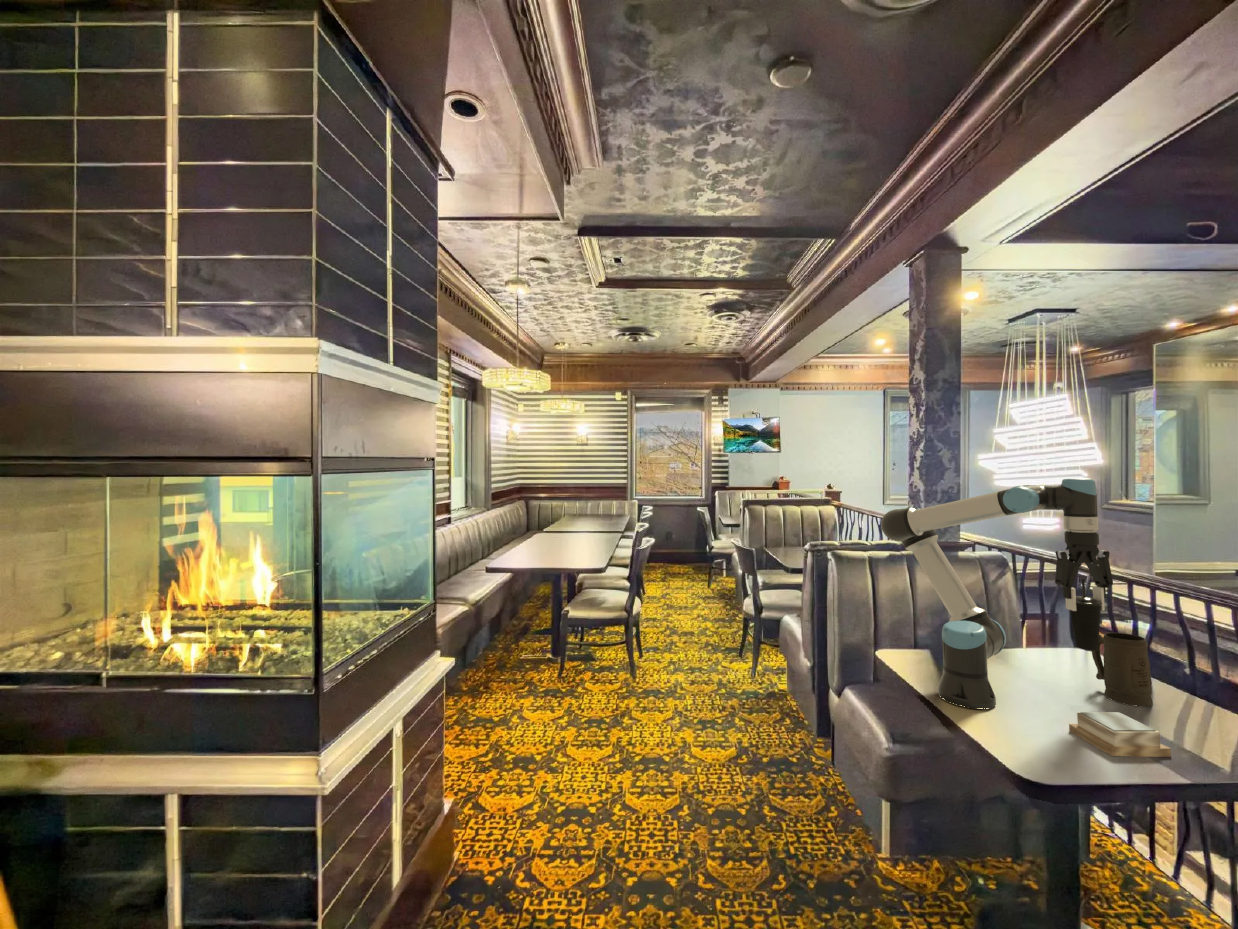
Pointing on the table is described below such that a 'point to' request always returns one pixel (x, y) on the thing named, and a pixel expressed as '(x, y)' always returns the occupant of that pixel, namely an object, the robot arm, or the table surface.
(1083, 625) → the drinking cup
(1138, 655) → the beer stein
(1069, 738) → the table surface
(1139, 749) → the plinth
